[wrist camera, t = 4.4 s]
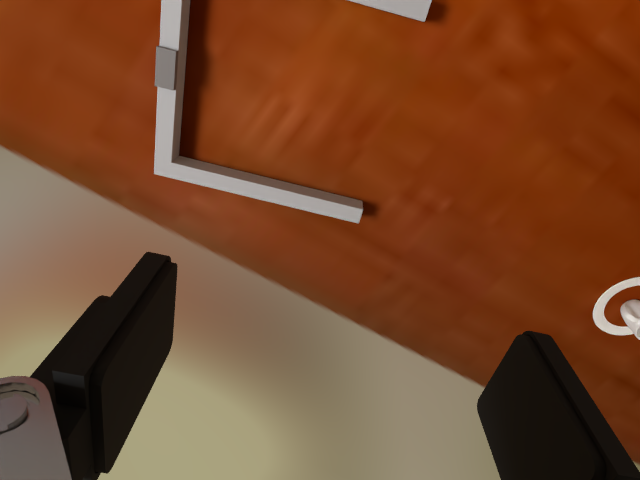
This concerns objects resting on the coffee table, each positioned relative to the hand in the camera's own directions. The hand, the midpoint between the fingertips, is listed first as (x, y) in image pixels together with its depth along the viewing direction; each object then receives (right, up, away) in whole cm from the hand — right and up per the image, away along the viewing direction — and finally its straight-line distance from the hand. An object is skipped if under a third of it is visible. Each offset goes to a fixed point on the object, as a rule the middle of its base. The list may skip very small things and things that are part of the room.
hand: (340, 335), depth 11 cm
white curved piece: (+34, -7, +36) cm, 50 cm away
